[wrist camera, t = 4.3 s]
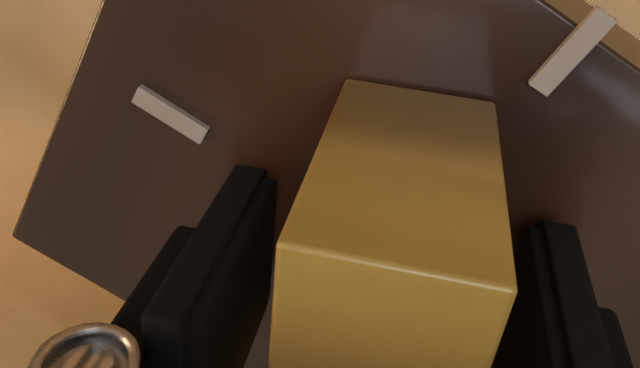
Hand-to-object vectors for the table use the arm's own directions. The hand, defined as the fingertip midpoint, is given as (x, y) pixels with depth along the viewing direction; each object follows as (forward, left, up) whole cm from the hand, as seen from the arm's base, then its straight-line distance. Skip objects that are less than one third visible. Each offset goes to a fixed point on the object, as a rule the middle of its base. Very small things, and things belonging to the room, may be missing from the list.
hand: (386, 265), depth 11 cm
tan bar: (0, 0, 0) cm, 0 cm away
